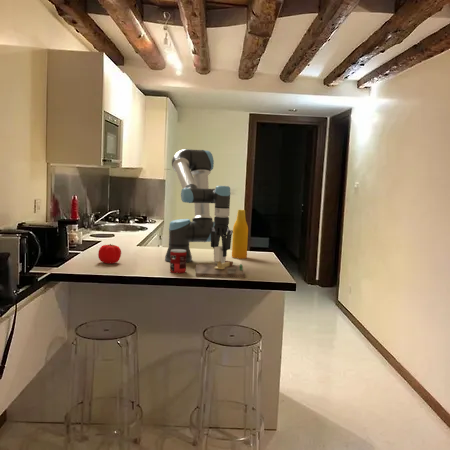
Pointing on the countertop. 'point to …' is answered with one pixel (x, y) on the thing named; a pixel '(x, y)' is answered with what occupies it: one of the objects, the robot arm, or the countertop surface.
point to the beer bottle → (240, 236)
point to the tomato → (109, 254)
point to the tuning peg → (219, 258)
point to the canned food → (178, 261)
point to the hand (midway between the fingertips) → (219, 262)
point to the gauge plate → (220, 270)
